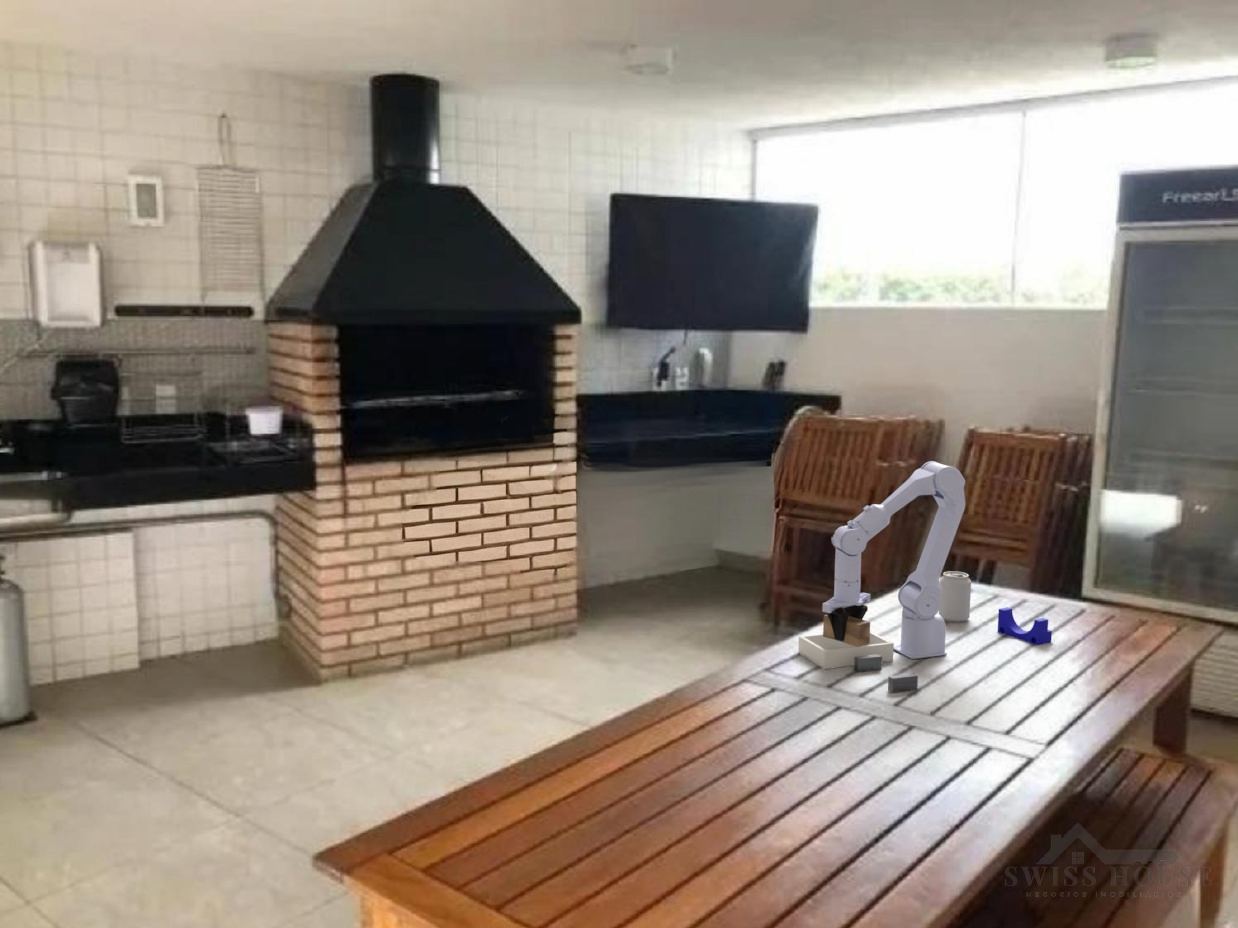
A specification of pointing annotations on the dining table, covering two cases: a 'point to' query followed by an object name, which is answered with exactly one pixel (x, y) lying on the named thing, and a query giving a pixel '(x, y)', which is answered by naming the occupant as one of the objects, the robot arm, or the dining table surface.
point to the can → (955, 596)
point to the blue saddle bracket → (1035, 635)
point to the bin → (841, 650)
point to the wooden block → (850, 631)
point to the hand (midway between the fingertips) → (845, 637)
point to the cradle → (894, 682)
